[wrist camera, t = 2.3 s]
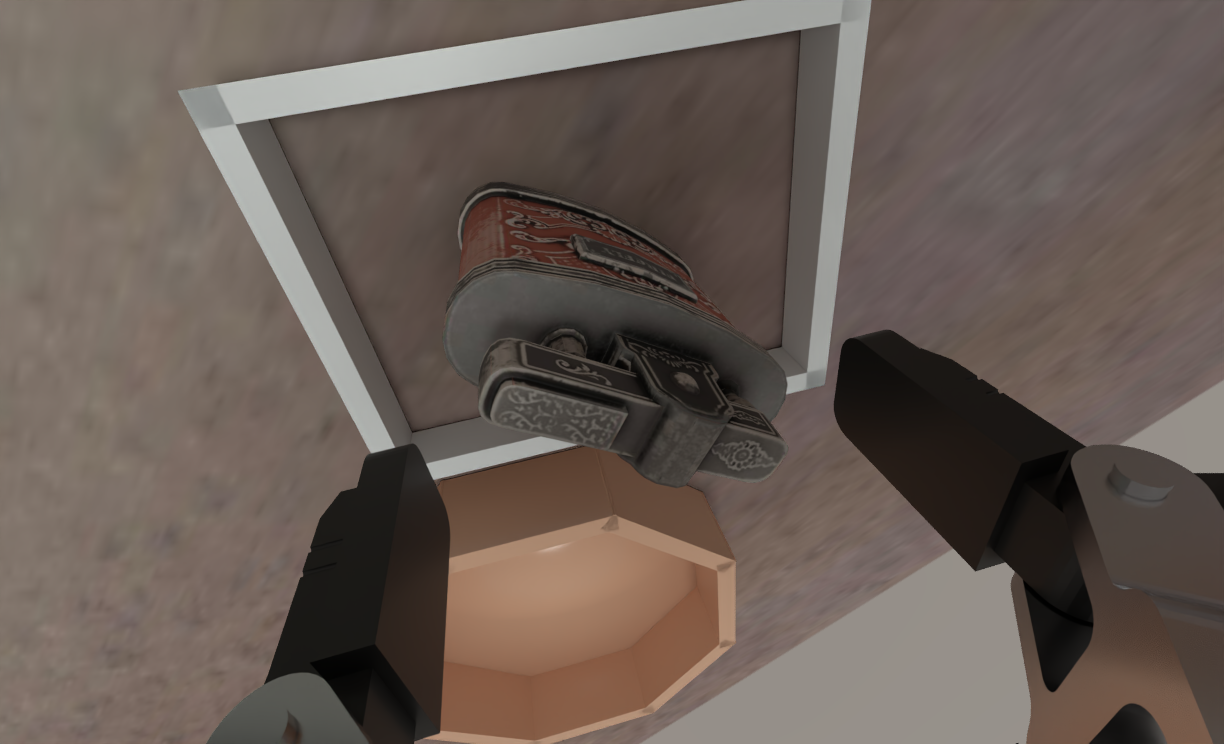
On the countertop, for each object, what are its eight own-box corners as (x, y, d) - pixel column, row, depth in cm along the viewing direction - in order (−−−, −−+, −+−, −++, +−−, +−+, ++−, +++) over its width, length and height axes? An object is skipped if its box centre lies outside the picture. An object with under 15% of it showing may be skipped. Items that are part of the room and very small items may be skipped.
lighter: (703, 252, 18) (887, 424, 10) (659, 333, 19) (789, 544, 11) (477, 156, 15) (469, 290, 7) (445, 260, 16) (405, 478, 8)
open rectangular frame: (829, -13, 15) (873, -21, 13) (798, 358, 22) (824, 384, 20) (216, 85, 13) (177, 91, 11) (398, 453, 20) (390, 490, 18)
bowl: (699, 417, 22) (736, 482, 19) (709, 619, 31) (736, 688, 27) (325, 508, 21) (295, 597, 17) (447, 694, 29) (442, 776, 26)
